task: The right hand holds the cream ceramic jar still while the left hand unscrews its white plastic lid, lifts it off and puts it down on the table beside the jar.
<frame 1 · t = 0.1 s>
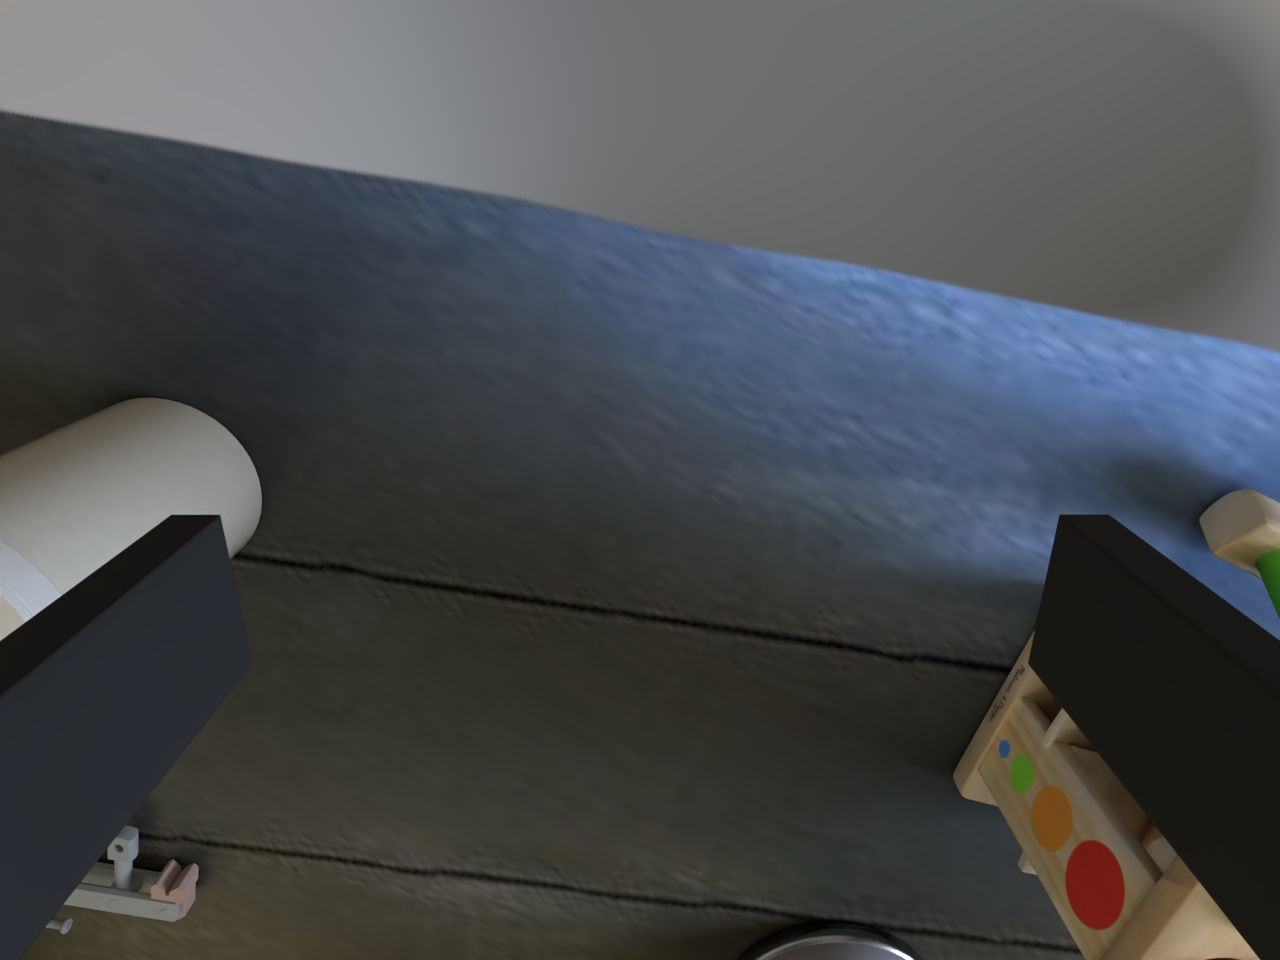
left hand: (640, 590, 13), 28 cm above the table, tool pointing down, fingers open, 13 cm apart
pounding bench toy: (1140, 657, 46), on the table
jar: (169, 485, 42), on the table
clamp: (84, 864, 52), on the table
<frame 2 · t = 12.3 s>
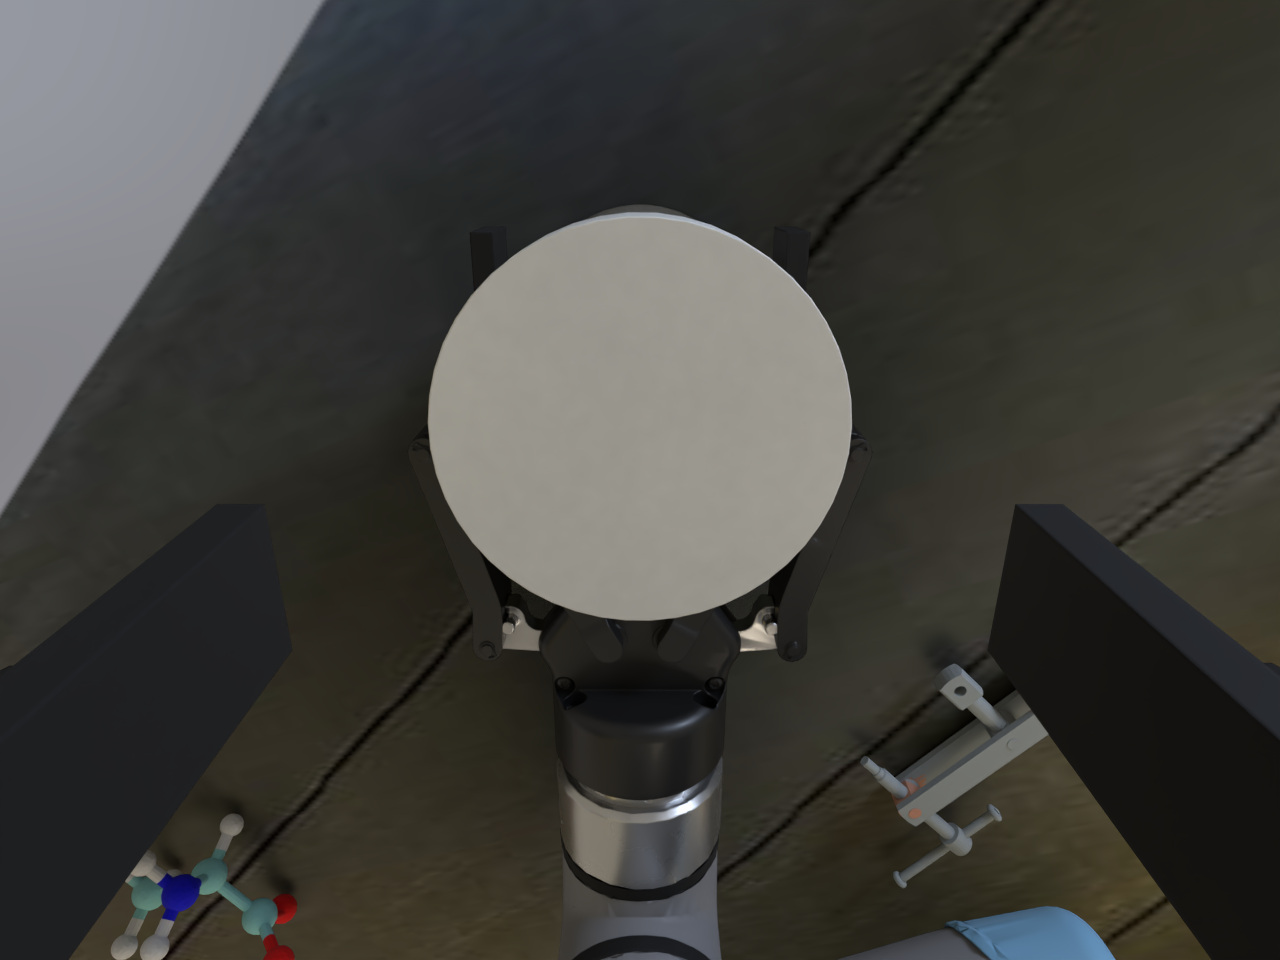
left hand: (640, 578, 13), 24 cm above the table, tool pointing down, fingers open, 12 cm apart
lid: (639, 434, 20), point 16 cm above the table, screwed on, not yet turned
molecular model: (240, 842, 46), on the table
jar: (640, 320, 35), on the table, touching right hand
clamp: (945, 749, 44), on the table
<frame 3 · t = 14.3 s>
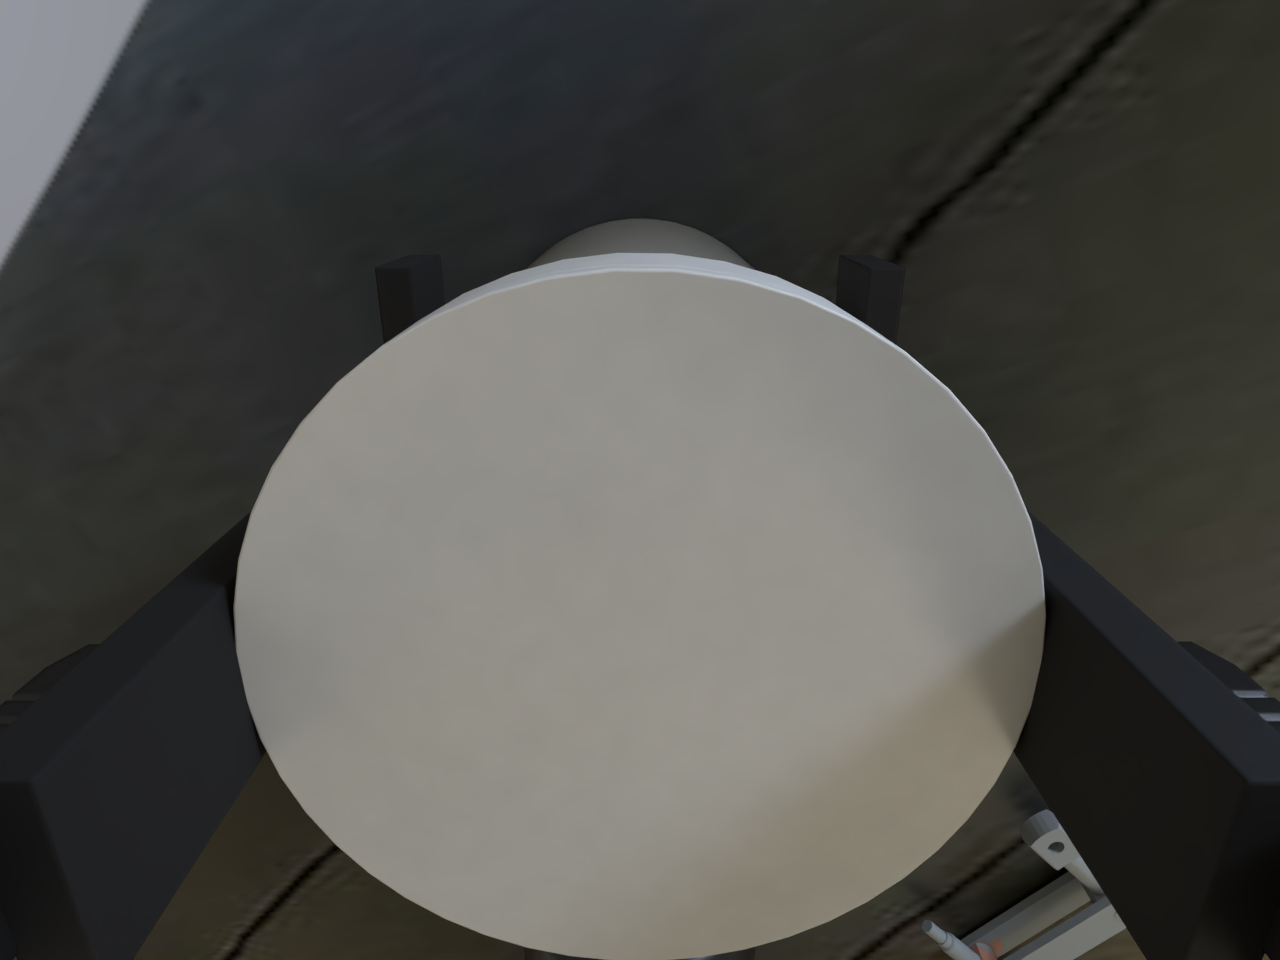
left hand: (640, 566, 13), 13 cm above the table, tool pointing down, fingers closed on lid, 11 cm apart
lid: (639, 664, 11), point 16 cm above the table, screwed on, not yet turned, touching left hand
jar: (640, 374, 26), on the table, touching right hand
clamp: (1027, 905, 35), on the table
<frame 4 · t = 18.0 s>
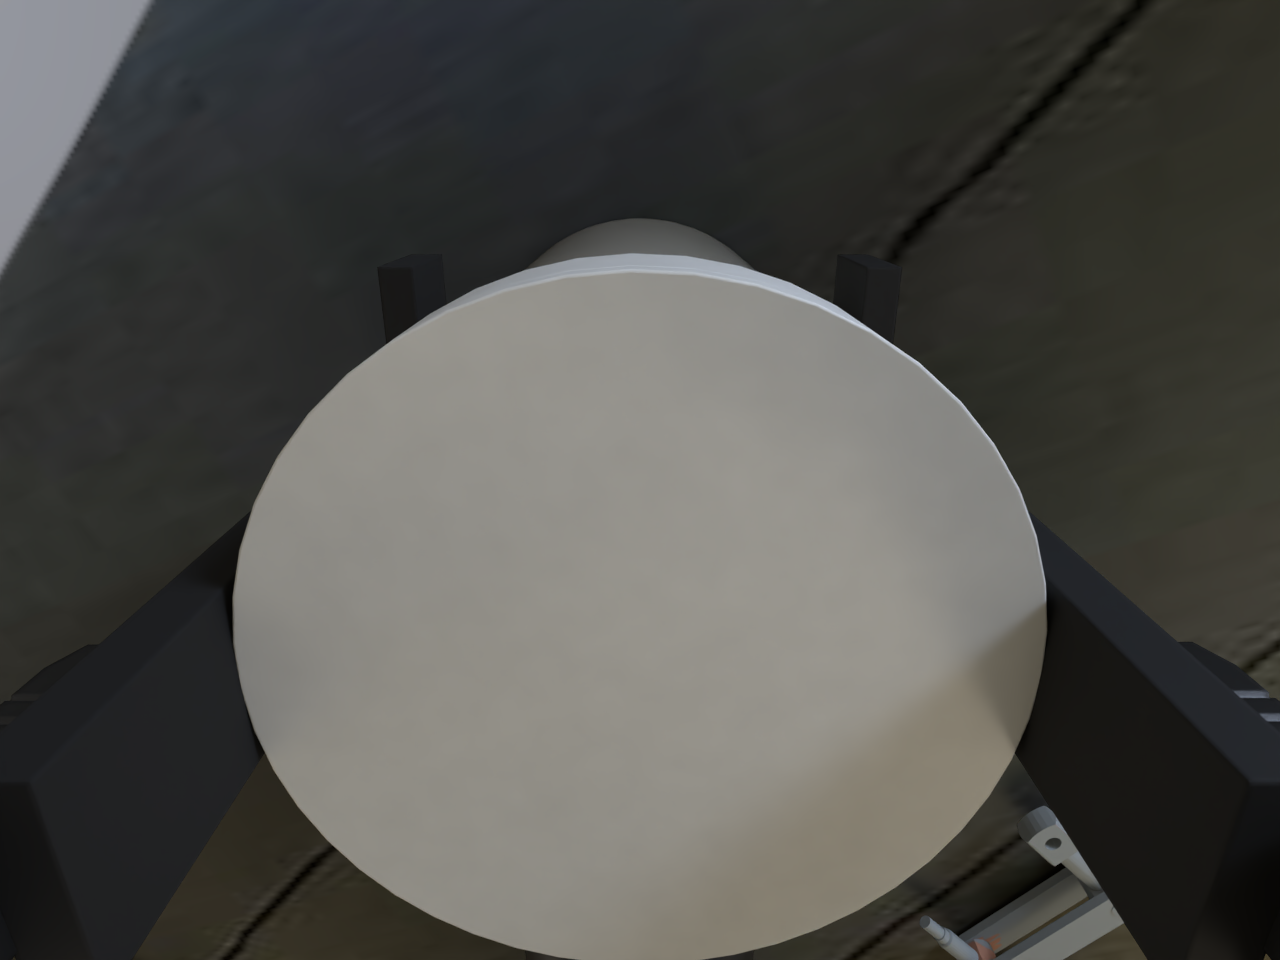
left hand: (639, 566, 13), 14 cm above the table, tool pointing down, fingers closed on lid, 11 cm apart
lid: (639, 667, 11), point 17 cm above the table, turned 133° so far, risen 0.2 cm, still on its thread, touching left hand
jar: (639, 373, 26), on the table, touching right hand
clamp: (1025, 901, 35), on the table
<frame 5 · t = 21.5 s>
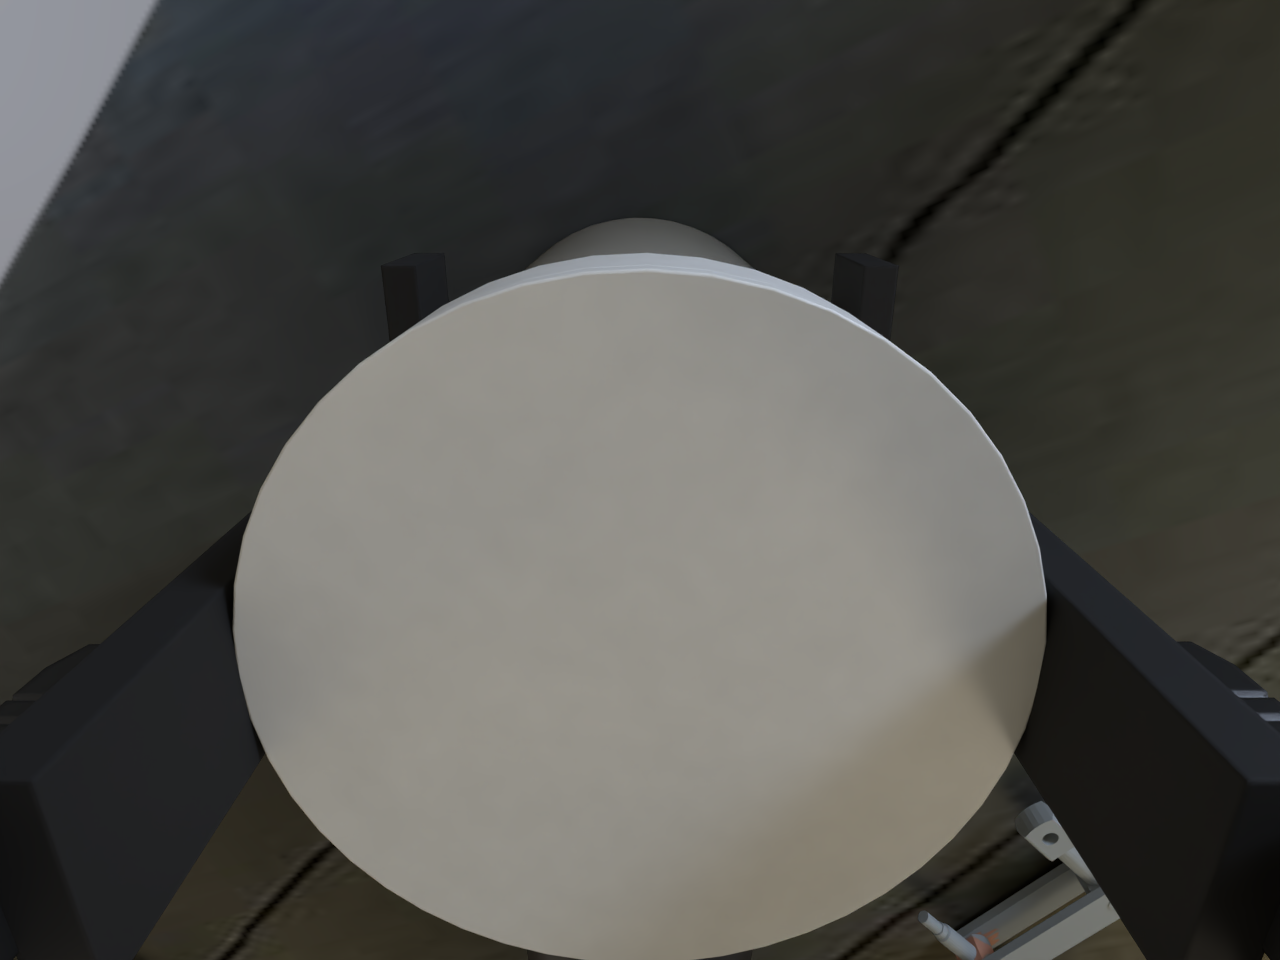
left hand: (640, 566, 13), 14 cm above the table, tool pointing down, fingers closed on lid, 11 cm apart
lid: (640, 666, 11), point 17 cm above the table, turned 266° so far, risen 0.5 cm, still on its thread, touching left hand
jar: (639, 371, 26), on the table, touching right hand
clamp: (1022, 896, 35), on the table
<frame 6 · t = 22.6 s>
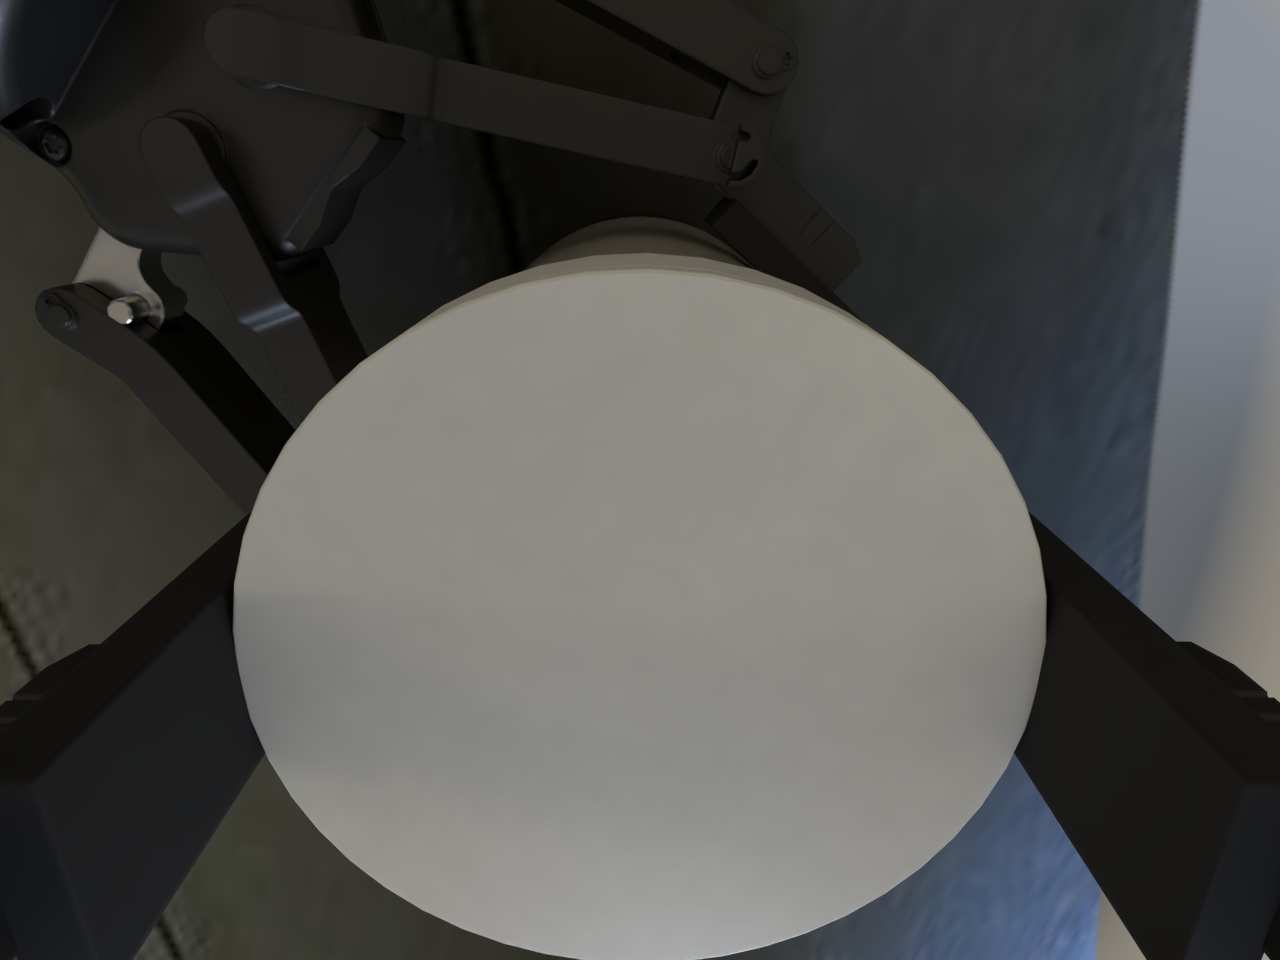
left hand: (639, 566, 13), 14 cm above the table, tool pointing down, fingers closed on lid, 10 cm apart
right hand: (760, 533, 21), fingers closed on jar, 10 cm apart
lid: (639, 666, 11), point 17 cm above the table, off its thread, touching left hand
jar: (639, 369, 26), on the table, touching right hand
when the left hand's fingers open (0 cm above the table, at t = 28.0 s): lid drops 2 cm, point 1 cm above the table.
when the right hand's fingers open (7 cm above the table, at t = 29.0 s): jar stays where it is, on the table.
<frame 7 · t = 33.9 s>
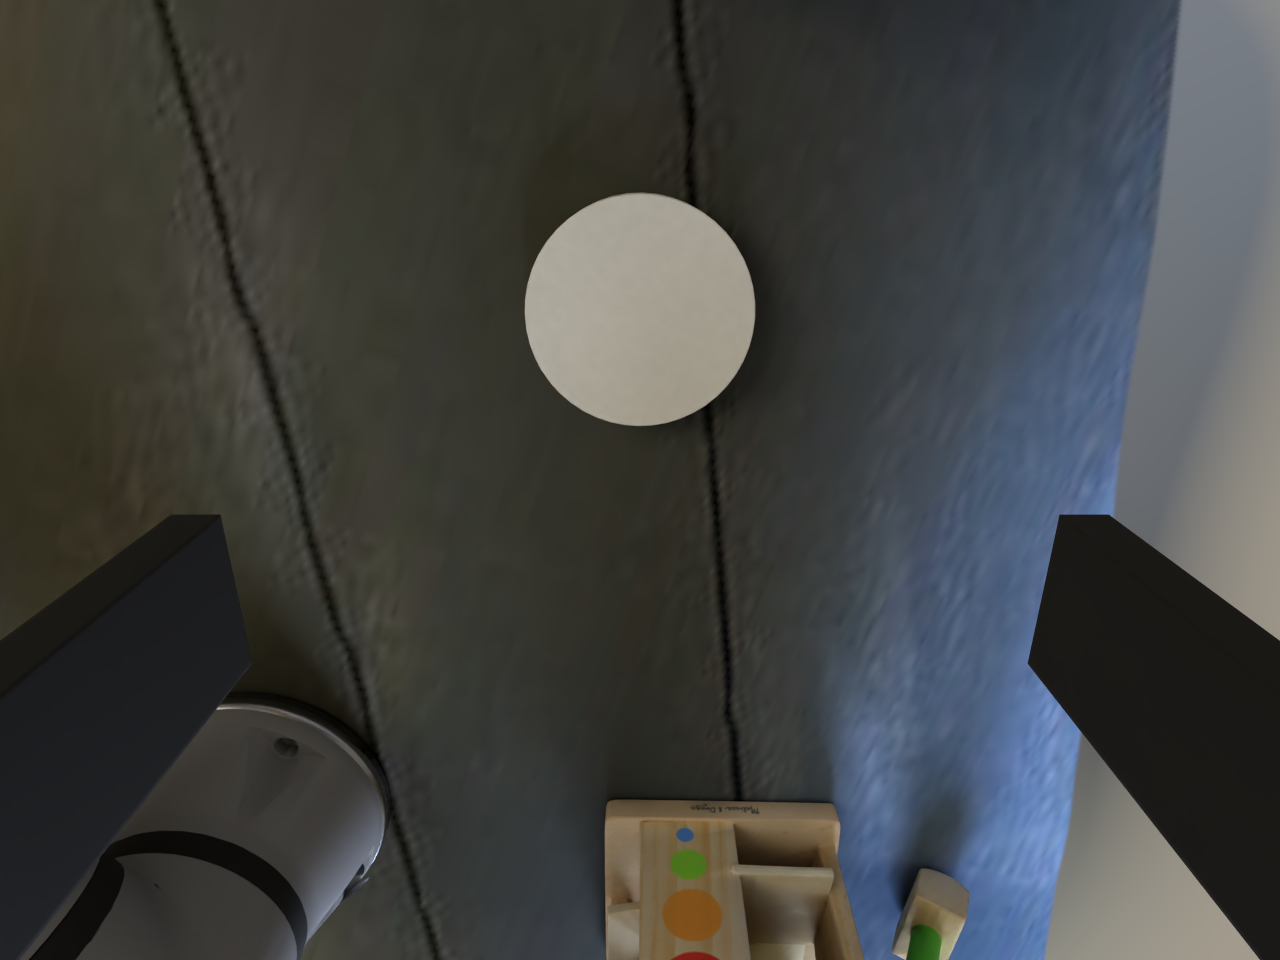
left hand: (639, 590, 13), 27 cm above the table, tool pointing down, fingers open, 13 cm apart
lid: (640, 314, 36), point 1 cm above the table, off its thread
pounding bench toy: (779, 882, 51), on the table
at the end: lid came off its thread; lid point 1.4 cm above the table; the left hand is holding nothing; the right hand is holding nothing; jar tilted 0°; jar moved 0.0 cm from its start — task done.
